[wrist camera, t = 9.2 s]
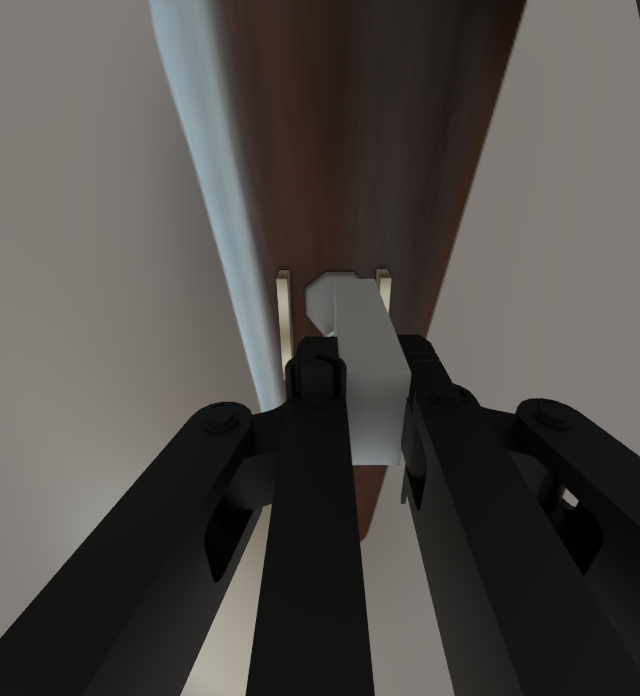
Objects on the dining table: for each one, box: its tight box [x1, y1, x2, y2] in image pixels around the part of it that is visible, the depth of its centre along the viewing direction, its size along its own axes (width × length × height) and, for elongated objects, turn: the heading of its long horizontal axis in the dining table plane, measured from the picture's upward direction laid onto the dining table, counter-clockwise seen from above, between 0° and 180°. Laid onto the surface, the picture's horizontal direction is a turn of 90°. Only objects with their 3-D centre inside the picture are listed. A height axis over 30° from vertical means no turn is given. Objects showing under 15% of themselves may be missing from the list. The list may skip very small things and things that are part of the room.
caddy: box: [276, 269, 391, 380], centre depth 39 cm, size 12×11×3 cm
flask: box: [304, 272, 359, 337], centre depth 35 cm, size 7×7×10 cm
